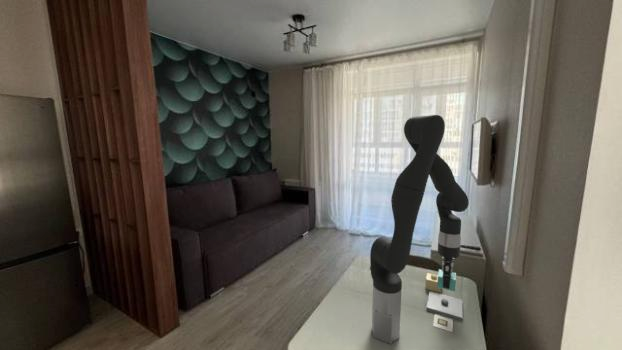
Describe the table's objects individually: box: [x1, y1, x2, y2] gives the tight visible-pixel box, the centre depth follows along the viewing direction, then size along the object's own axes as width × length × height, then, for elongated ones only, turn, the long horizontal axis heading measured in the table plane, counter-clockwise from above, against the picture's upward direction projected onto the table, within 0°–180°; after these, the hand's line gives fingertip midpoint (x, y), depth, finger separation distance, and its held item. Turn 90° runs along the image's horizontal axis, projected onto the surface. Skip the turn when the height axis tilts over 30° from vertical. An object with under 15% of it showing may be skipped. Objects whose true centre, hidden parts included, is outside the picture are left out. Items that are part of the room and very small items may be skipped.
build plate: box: [426, 290, 464, 322], centre depth 100 cm, size 12×12×2 cm
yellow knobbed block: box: [425, 272, 442, 293], centre depth 112 cm, size 6×6×6 cm
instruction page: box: [432, 313, 454, 333], centre depth 91 cm, size 7×6×1 cm
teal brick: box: [437, 268, 457, 292], centre depth 98 cm, size 6×6×6 cm
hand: (446, 283), depth 99 cm, fingers closed on teal brick, 6 cm apart
